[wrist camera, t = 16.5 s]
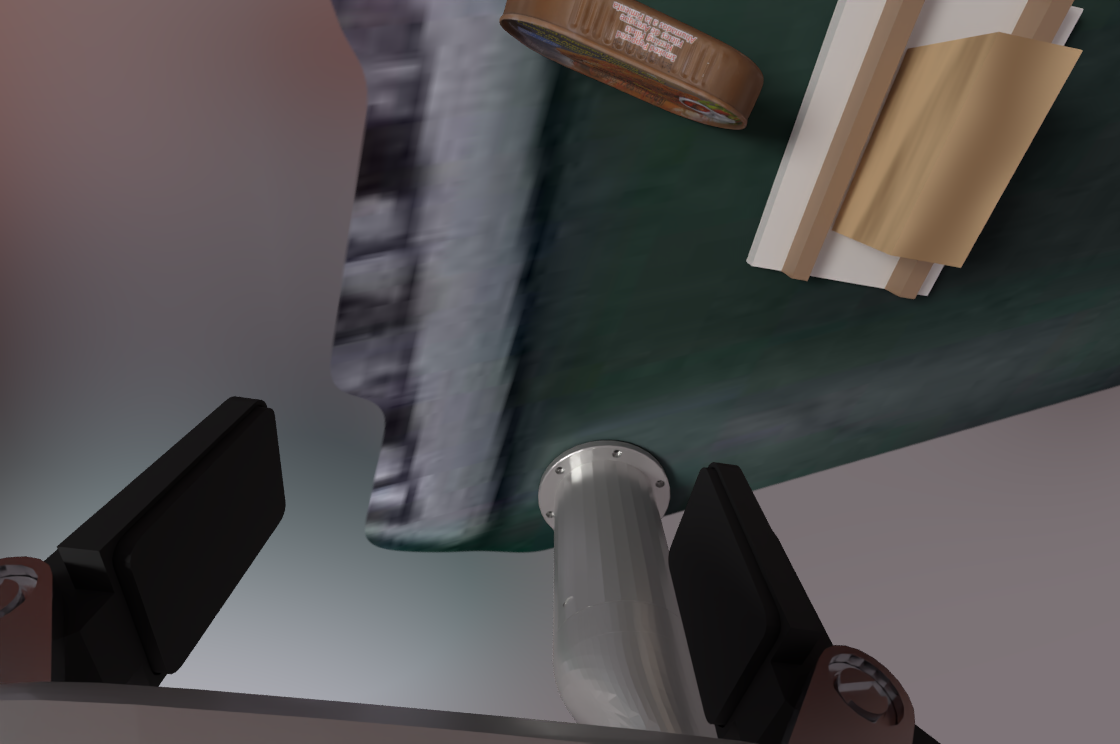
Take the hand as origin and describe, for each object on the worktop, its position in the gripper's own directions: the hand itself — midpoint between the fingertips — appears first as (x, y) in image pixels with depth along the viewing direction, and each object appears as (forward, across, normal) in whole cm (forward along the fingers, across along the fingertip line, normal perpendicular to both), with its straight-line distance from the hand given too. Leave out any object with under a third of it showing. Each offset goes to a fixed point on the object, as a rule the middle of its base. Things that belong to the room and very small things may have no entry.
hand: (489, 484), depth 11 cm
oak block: (+27, -23, -9) cm, 37 cm away
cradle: (+28, -23, -9) cm, 38 cm away
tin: (+29, -4, -11) cm, 31 cm away
